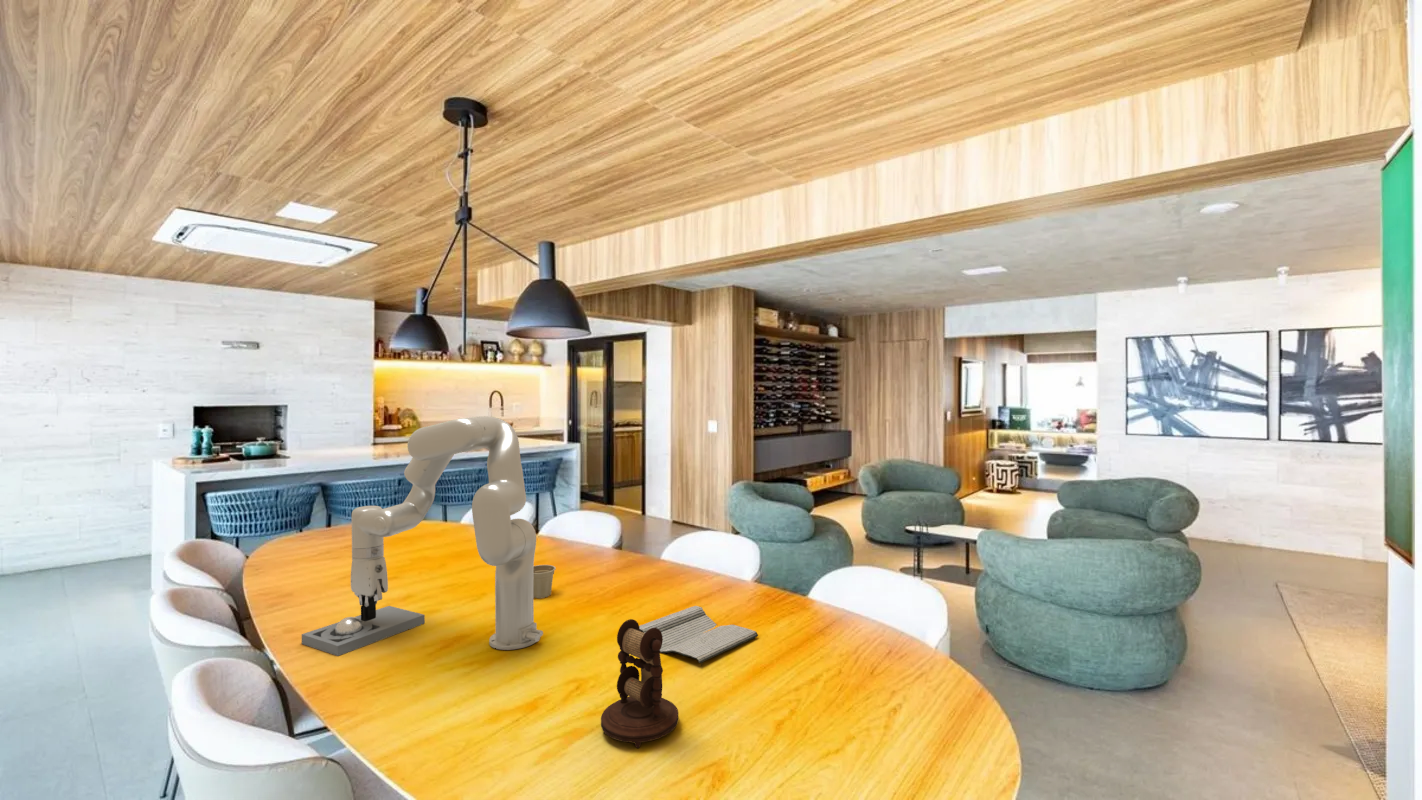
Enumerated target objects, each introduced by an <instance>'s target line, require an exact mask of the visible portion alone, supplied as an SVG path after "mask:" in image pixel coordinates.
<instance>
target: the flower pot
mask: <svg viewBox="0 0 1422 800" xmlns="http://www.w3.org/2000/svg"><path fill="white" fill-rule="evenodd" d="M556 568H557V567H556V566H554V565H551V564H538V565H534V568H533V599H535V598H536V599H545V597H546V598H548V597H549V596H551V595H552V588H553V587H552V586H553V579H554V575H555V571H556Z"/></svg>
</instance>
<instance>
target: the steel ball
mask: <svg viewBox="0 0 1422 800" xmlns="http://www.w3.org/2000/svg"><path fill="white" fill-rule="evenodd" d="M355 617H356V616H347V617H344V618H343V619H341V620H340V621H338V622H339V623H338V622H337V623H338V624H337V626H336V629H335V634H336V636H346V635H351V634H354V633H357V632H360V631H361V629H362V624H361V622H360V620H359V619H357V618H355Z"/></svg>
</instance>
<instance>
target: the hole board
mask: <svg viewBox="0 0 1422 800" xmlns="http://www.w3.org/2000/svg"><path fill="white" fill-rule="evenodd" d="M354 617H355V618H357V619H359V620H360V622H361V624H362V629H361V631H360V632H357V633H354V634H351V635H346V636H336V634H335V629H336V626H337V624H338V623H339V622H340V621H338V622H335V623H332V624H328V625H325V626H323V627H319V628H316V629H313V630H311V631H307V632H304V633H301V645H303V646H307V647H309V648H313V649H316V650H318V651H321V652H324V653H327V654H331V655H333V656H336V657H339V656H342V655H345V654H347V653H350V652H352V651H355V650H357V649H361V648H363V647H366V646H369V645H371V644H374V643H377V642H379V641H382V640H385V639H387V638H390V637H393V636H395V635H398V634H401V633H403V632H406V631H409V630H411V629H414V628H417V627H419V626H422V625H424V623H425V614H423V613H419V612H415V611H411V610H407V609H403V608H400V607H395V606H391V605H388V606H384V607H381V608H378V609H376V618H374V619H371V620H369V621H362V620H361V614H360V615H357V616H354ZM421 624H422V625H421ZM416 626H417V627H416ZM408 629H409V630H408Z"/></svg>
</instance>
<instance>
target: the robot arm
mask: <svg viewBox="0 0 1422 800" xmlns="http://www.w3.org/2000/svg"><path fill="white" fill-rule="evenodd" d="M406 447H407V451H408V453H409V455H410V456H411V457H412V458H411V460H410V462H409V463H408V464H407V466H406V467H405V469H404V473H403V474H404V477H405V479H406V480H407V481H408V482H409V483H410V484H412V486H411V489H410V492H409V493H408V495H407V496H406V498H405V499H404V501H403V502H402V503H399V504H396V505H392V506H388V507H385V508H382V507H381V506H380V505H379V506H378V505H364V506H359V507H358V506H357V507H356V508H354V509H353V510H352V512H351V567H350V589H351V591H352V593H354V596H356V597H357V598H358V602H359V606H360V615H361V620H362V621H369V620H371V619H374V618H376V610H377V607H376V606H377V604H378V601H382V599H383V593H387V592H388V589H389V581H388V569H387V564H386V563H387V562H386V557H385V555H384V554H385V553H384V550H385V549H384V538H387V537H392V536H394V535H398V534H400V533H402V532H405V531H409V530H412V529H414V528H416V527H417V526H418V525H419V524H420V523H422V521H423V519H425V516H426V515H427V514H428V512H429V510H430V509H431V507H432V505H433V503H434V500H435V497H436V484H437V483H438V481H439V479H440V478H441V476H442V474H443V473H444V471H445V470H446V469H447V466H448V465H449V464H450V462H451V460H452V459H453V457H454V455H456V454H460V453H461V454H462V453H465V452H471V451H477V450H483V449H486V450H488V455H487V460H486V466H487V467H486V470H487V474H488V483H486V484H484V485H482V486H481V487H479V488H478V489H477V491H476V492H475V494H474V496H473V498H472V503H471V513H472V521H473V528H474V529H473V530H474V535H475V537H474V538H475V543H476V544H475V545H476V549H477V552H478V555H479V557H480V559H481V560H482V561H483V562H484V563H486V564H487V565H488V566H494V567H495V577H494V579H495V583H494V584H495V585H494V590H495V591H494V593H495V594H494V595H495V598H494V599H495V601H494V602H495V606H494V607H495V608H494V610H495V614H494V615H495V632H494V633H493V634H492V635H490V637H489V641H488V644H489V646H490V647H491V648H493V649H495V648H496V649H495V650H501V651H503V650H504V651H510V650H520V649H523V648H527V647H529V646H532V645H534V644H535V643H537V642H539V641H540V640H541V637H542V636H543V635H544V631H543V630H541V629H537V622H534V621H535V619H534V616H535V615H534V598H533V568H534V566H535V565H534V563H535V553H536V548H537V547H536V546H537V534H536V533H537V532H536V530H535V527H534V526H533V525H532V523H531V522H529V521H528V520H527V519H524V518H511V516H513V515H515V514H517V513H519V512H520V511H522V510H523V508H524V507H525V506H526V502H527V494H526V487H525V480H524V473H523V466H522V460H521V453H520V452H521V450H520V449H521V448H520V440H519V438H518V434H517V432H516V430H515V429H514V427H513V426H512V425H511V424H510V423H509V422H507V421H505V420H503V419H501V418H498V417H495V416H475V417H474V416H472V417H471V416H470V417H462V418H456V419H452V420H447V421H445V422H441V423H436V424H433V425H429V426H428V425H427V426H423V427H420V428H417V429H416V430H414V431H413V432H412V433H411V435H410V437H409V439H408V440H407V446H406Z"/></svg>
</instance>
